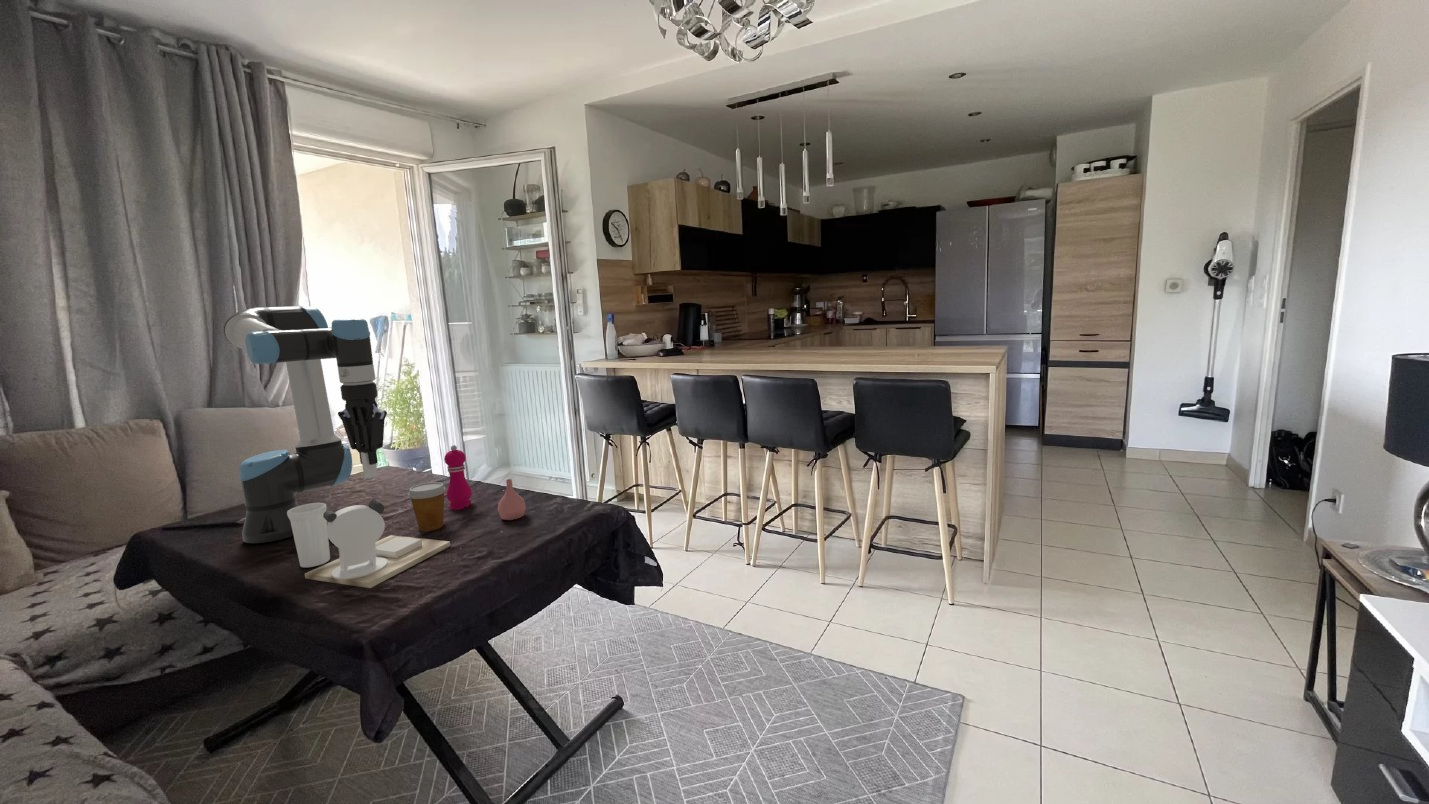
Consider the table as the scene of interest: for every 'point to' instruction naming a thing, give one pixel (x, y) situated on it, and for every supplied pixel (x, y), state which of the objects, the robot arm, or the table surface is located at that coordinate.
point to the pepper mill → (457, 479)
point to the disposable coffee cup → (428, 505)
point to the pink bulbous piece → (511, 504)
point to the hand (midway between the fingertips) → (371, 476)
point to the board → (388, 571)
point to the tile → (397, 547)
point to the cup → (310, 534)
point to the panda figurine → (356, 539)
